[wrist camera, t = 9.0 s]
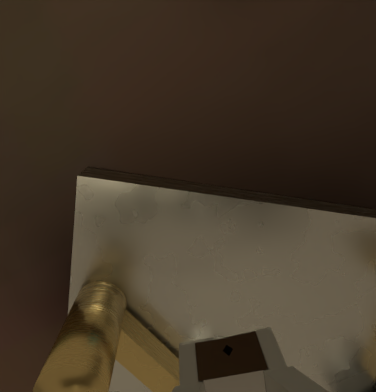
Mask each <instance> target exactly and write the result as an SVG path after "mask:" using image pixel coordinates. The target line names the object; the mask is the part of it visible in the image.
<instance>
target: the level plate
mask: <svg viewBox="0 0 376 392" xmlns="http://www.w3.org/2000/svg"><path fill="white" fill-rule="evenodd" d="M98 281H103V282H109V283H111V284H114V285H115V286H117V287H118V288H119V289H121V291H122V292H123V293H124V295H125V297H126V302H127V306H126V310H127V311H128V312H129V313H130V314H132V315H133V316H134V317H135V318H136V319H137V320H138V321H139V322H140V323H141V324H142V325H143V326H144V327H145V328H146V329H148V330H149V331H150V332H151V333H152V334H153V335H154V336H155V337H156V338H157V339H158V340H159V341H160V342H161V343H162V344H164V345H165V346H166V347H167V348H168V349H169V350H170V351H171V352H172V353H173V354H174V355H175V356H176V357H177V358H178V359H179V343H181V342H188V341H195V340H199V339H206V338H212V337H219V336H225V335H231V334H236V333H242V332H247V331H253V330H254V331H255V330H257V329H262V328H267V327H270V328H271V329H272V331H273V333H274V336H275V338H276V340H277V343H278V345H279V348H280V350H281V352H282V355H283V357H284V359H285V362H286V364H287V367H290V366H293V367H294V368H296V369H297V370H299V371H300V372H302V373H303V374H304V375H306V376H307V377H309V378H310V379H311V380H313V381H314V382H316V383H317V384H319V385H320V386H321V387H323V388H324V389H326V390H327V391H329V392H376V209H372V208H365V207H358V206H352V205H345V204H338V203H331V202H324V201H317V200H310V199H304V198H297V197H290V196H283V195H276V194H269V193H262V192H256V191H249V190H242V189H235V188H228V187H221V186H214V185H207V184H201V183H194V182H187V181H180V180H173V179H166V178H159V177H153V176H146V175H139V174H132V173H125V172H118V171H111V170H105V169H98V168H91V167H87V168H86V169H85V170H84V171H82V172H81V173H80V174H79V175H78V176H77V189H76V203H75V218H74V233H73V247H72V262H71V276H70V291H69V305H68V314H69V312H70V309H71V307H72V305H73V303H74V301H75V299H76V297H77V295H78V293H79V291H80V290H81V289H82V288H83V287H84V286H86V285H87V284H89V283H92V282H98ZM109 392H152V391H151V390H150V389H149V388H148V387H146V386H145V385H144V384H143V383H142V382H141V381H140V380H138V379H137V378H136V377H135V376H134V375H133V374H132V373H130V372H129V371H128V370H127V369H126V368H125V367H123V366H122V365H121V364H120V363H119V362H118V361H117V360H115V363H114V368H113V373H112V378H111V382H110V387H109Z"/></svg>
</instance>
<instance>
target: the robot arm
mask: <svg viewBox="0 0 376 392" xmlns="http://www.w3.org/2000/svg"><path fill="white" fill-rule="evenodd" d="M179 382H180V386H175V387H174V389H173V390H172V392H329V391H327V390H326V389H324V388H323V387H321V386H320V385H319V384H317V383H316V382H314V381H313V380H311V379H310V378H309V377H307V376H306V375H304V374H303V373H302V372H300V371H299V370H297V369H296V368H294V367H293V366H290V367H287V364H286V362H285V359H284V357H283V355H282V352H281V350H280V348H279V345H278V343H277V340H276V338H275V336H274V333H273V331H272V329H271V328H270V327H267V328H262V329H257V330H255V331H254V330H253V331H247V332H242V333H236V334H231V335H225V336H219V337H212V338H206V339H199V340H195V341H188V342H181V343H179Z"/></svg>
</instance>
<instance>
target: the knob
mask: <svg viewBox="0 0 376 392" xmlns="http://www.w3.org/2000/svg"><path fill="white" fill-rule="evenodd" d="M126 306H127V302H126V297H125V295H124V293H123V292H122V291H121V289H119V288H118V287H117V286H115V285H114V284H111V283H109V282H103V281H98V282H92V283H89V284H87V285H86V286H84V287H83V288H82V289H81V290H80V291H79V293H78V295H77V297H76V299H75V301H74V303H73V305H72V307H71V309H70V312H69V314H68V316H67V318H66V320H65V322H64V324H63V326H62V329H61V331H60V333H59V335H58V337H57V339H56V341H55V343H54V345H53V348H52V350H51V352H50V354H49V356H48V358H47V360H46V362H45V364H44V367H43V369H42V371H41V373H40V375H39V377H38V379H37V381H36V383H35V386H34V389H33V392H109V387H110V382H111V378H112V373H113V368H114V363H115V360H117V361H118V362H119V363H120V364H121V365H122V366H123V367H125V368H126V369H127V370H128V371H129V372H130V373H132V374H133V375H134V376H135V377H136V378H137V379H138V380H140V381H141V382H142V383H143V384H144V385H145V386H146V387H148V388H149V389H150V390H151V391H152V392H172V390H173V389H174V387H175V386H180V382H179V359H178V358H177V357H176V356H175V355H174V354H173V353H172V352H171V351H170V350H169V349H168V348H167V347H166V346H165V345H164V344H162V343H161V342H160V341H159V340H158V339H157V338H156V337H155V336H154V335H153V334H152V333H151V332H150V331H149V330H148V329H146V328H145V327H144V326H143V325H142V324H141V323H140V322H139V321H138V320H137V319H136V318H135V317H134V316H133V315H132V314H130V313H129V312H128V311H127V310H126Z"/></svg>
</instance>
